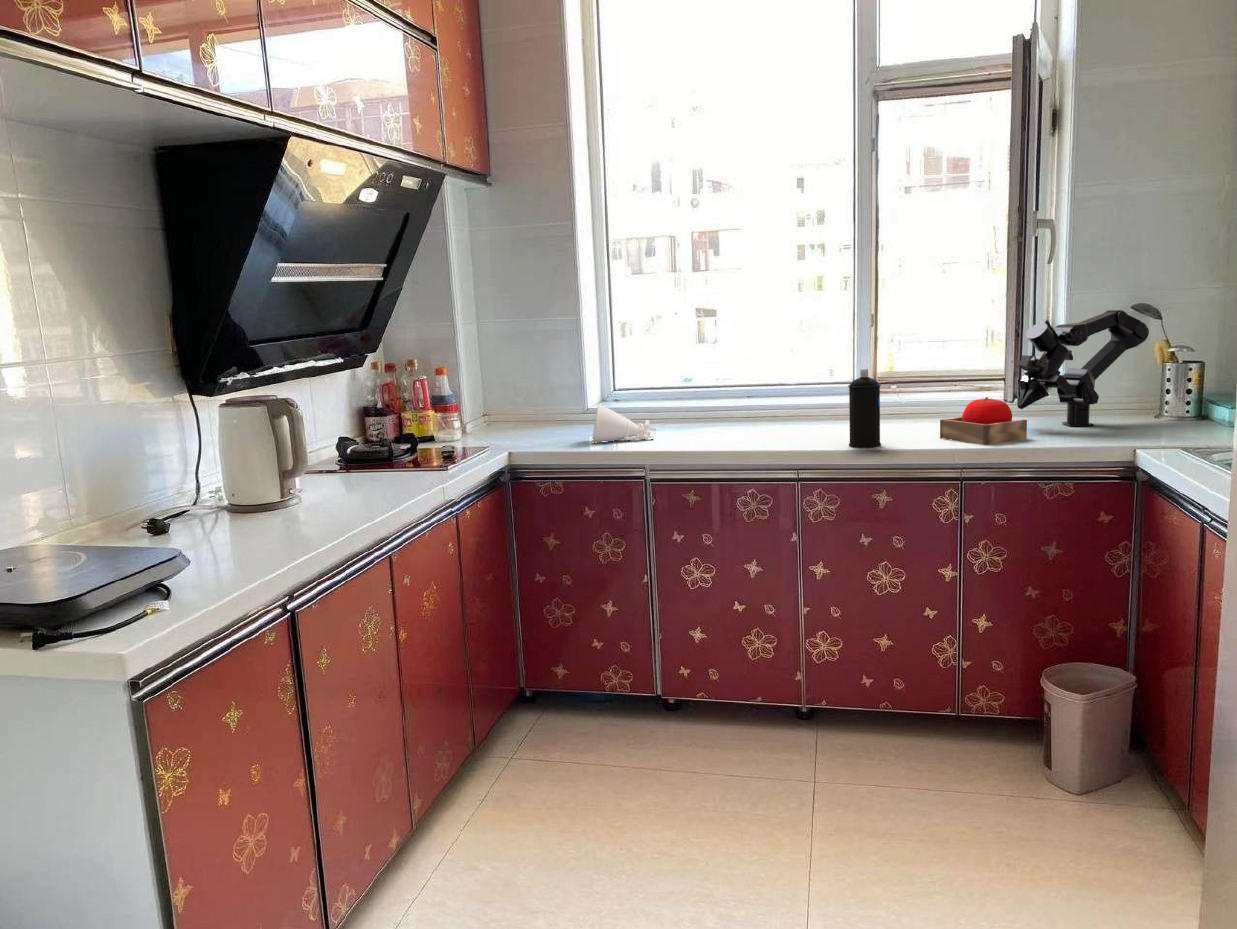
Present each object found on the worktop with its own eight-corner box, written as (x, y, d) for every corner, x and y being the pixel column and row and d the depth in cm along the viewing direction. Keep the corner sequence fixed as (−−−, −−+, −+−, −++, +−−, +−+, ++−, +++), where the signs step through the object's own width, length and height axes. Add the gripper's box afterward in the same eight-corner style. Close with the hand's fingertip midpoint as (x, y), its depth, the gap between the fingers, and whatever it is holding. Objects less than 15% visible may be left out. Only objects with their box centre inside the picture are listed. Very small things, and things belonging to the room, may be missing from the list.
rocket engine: (660, 406, 282) (599, 396, 281) (657, 435, 275) (595, 425, 274) (653, 432, 291) (594, 422, 290) (650, 461, 283) (590, 451, 282)
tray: (979, 432, 264) (979, 414, 263) (1026, 438, 250) (1026, 419, 249) (939, 438, 258) (940, 419, 257) (985, 444, 244) (986, 425, 243)
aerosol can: (861, 449, 247) (860, 371, 244) (842, 445, 255) (841, 369, 251) (887, 445, 250) (887, 368, 247) (868, 442, 258) (867, 367, 254)
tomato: (953, 436, 258) (954, 397, 256) (990, 432, 262) (990, 393, 260) (983, 441, 247) (983, 400, 245) (1020, 437, 251) (1021, 396, 249)
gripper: (1007, 343, 266) (977, 387, 263) (1064, 344, 249) (1032, 391, 246) (1027, 368, 270) (998, 412, 268) (1085, 371, 254) (1054, 418, 251)
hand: (1019, 407), depth 258 cm, fingers closed
